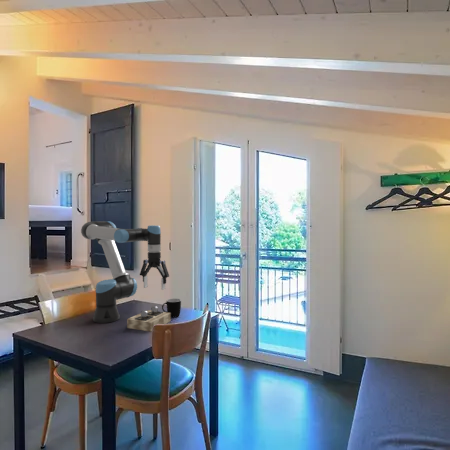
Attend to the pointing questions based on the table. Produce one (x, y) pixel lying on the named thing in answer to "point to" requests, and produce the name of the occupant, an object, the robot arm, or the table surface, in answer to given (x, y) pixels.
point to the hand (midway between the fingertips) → (154, 288)
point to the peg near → (144, 314)
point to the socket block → (148, 320)
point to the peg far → (154, 310)
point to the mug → (173, 307)
